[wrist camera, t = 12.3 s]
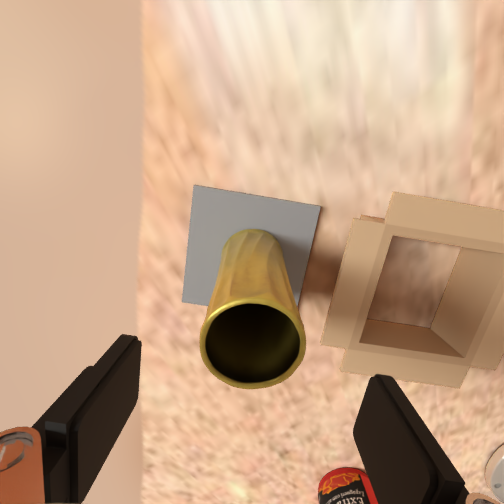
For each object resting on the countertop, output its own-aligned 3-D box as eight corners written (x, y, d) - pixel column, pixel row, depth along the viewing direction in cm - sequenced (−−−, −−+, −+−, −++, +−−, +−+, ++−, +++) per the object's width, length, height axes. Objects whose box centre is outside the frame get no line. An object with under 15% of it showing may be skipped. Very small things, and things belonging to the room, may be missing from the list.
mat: (293, 316, 29) (294, 318, 29) (183, 299, 28) (181, 302, 28) (319, 205, 26) (320, 206, 25) (194, 184, 25) (193, 185, 25)
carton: (448, 357, 30) (484, 392, 26) (304, 337, 30) (314, 368, 25) (509, 213, 26) (568, 221, 21) (342, 184, 25) (364, 186, 20)
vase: (292, 272, 27) (333, 372, 13) (237, 295, 28) (223, 413, 14) (267, 217, 26) (286, 267, 12) (210, 244, 26) (165, 319, 13)
